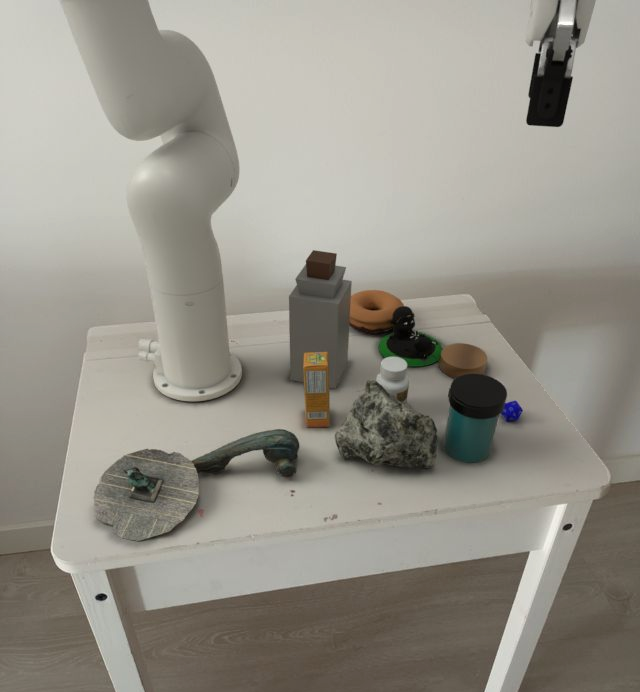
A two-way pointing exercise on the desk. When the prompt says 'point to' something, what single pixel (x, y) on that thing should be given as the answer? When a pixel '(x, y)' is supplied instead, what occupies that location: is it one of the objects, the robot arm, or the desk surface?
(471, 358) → the brown round disc
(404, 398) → the pill bottle
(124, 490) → the sculpture
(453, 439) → the jar
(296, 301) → the perfume bottle
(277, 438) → the decorative handle
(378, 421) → the rock
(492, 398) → the lid
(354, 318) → the donut
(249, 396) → the desk surface
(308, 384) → the supplement box
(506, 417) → the die
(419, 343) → the toy figurine
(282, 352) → the desk surface
